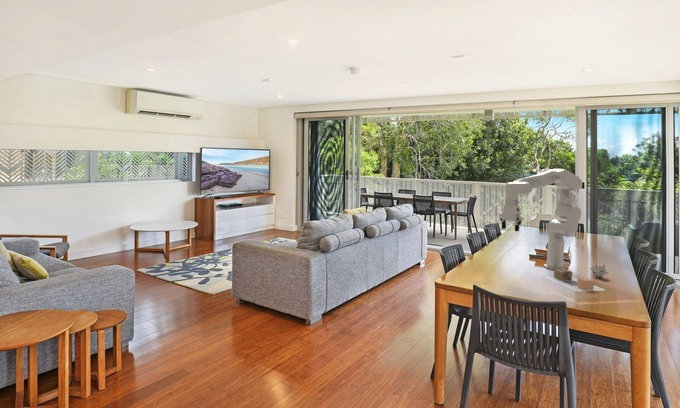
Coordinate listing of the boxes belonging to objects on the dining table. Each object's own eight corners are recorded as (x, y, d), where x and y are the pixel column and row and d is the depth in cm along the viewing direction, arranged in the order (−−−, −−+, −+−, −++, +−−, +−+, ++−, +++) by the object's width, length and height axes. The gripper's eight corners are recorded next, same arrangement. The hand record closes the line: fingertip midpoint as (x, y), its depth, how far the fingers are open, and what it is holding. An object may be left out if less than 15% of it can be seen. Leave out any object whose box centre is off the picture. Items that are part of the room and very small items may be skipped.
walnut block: (564, 277, 250) (564, 268, 249) (571, 280, 244) (572, 271, 243) (554, 277, 249) (554, 269, 248) (561, 280, 243) (562, 272, 242)
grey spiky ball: (595, 282, 257) (590, 266, 262) (610, 279, 252) (606, 264, 257) (591, 277, 251) (587, 262, 256) (607, 274, 246) (602, 259, 251)
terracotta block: (585, 286, 232) (586, 277, 231) (593, 289, 226) (594, 280, 226) (577, 286, 231) (577, 277, 230) (584, 289, 225) (584, 280, 225)
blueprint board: (570, 277, 253) (570, 275, 253) (606, 292, 225) (606, 289, 225) (543, 278, 250) (543, 276, 250) (576, 293, 222) (576, 291, 222)
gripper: (527, 203, 253) (526, 231, 255) (504, 201, 268) (502, 227, 270) (519, 204, 249) (518, 232, 251) (496, 201, 264) (494, 228, 266)
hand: (510, 229), depth 260 cm, fingers open, 9 cm apart
